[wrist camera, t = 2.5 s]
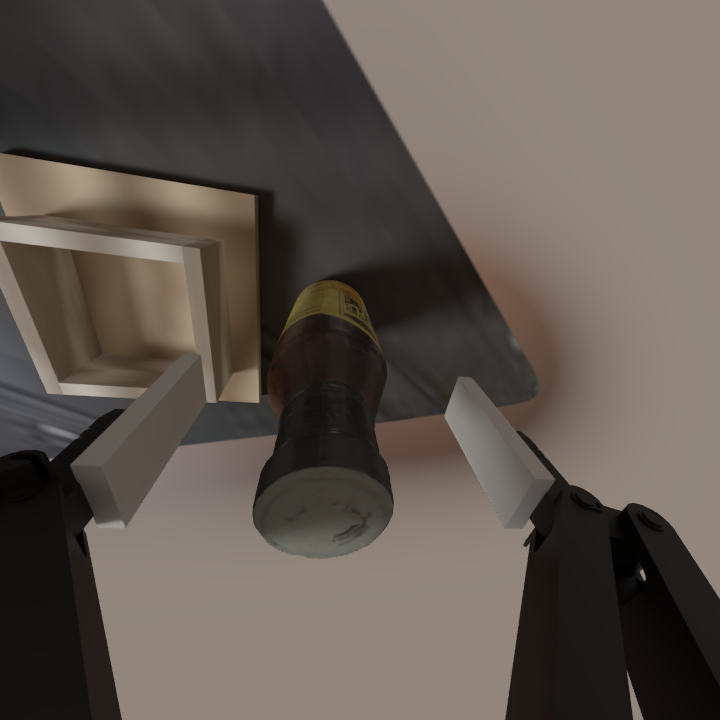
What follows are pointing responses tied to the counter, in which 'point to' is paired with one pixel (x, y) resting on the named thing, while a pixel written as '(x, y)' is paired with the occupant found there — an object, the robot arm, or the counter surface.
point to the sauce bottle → (325, 430)
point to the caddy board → (130, 279)
